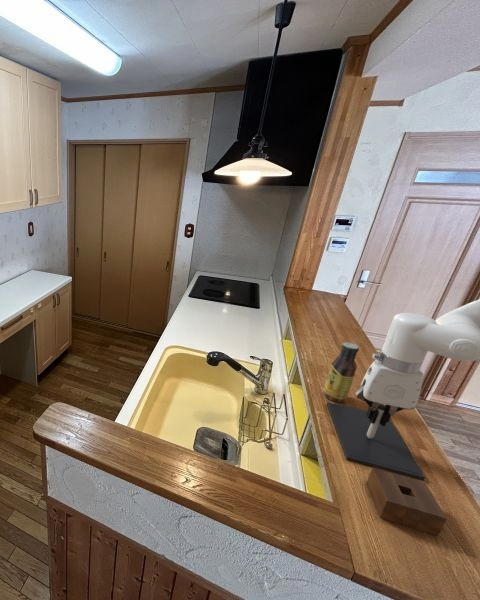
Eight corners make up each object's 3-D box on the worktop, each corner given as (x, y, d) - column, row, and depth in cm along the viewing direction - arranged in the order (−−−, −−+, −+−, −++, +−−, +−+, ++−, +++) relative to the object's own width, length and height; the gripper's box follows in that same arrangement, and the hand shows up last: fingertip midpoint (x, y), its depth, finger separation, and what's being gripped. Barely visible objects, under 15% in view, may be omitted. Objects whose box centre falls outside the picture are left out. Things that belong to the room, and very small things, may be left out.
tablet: (386, 417, 97) (387, 414, 97) (424, 480, 77) (425, 477, 76) (326, 404, 103) (327, 401, 103) (346, 459, 83) (347, 456, 83)
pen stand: (417, 497, 73) (425, 481, 71) (438, 536, 65) (447, 518, 63) (365, 483, 77) (372, 467, 75) (379, 517, 69) (386, 500, 67)
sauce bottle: (321, 389, 110) (336, 337, 103) (344, 395, 107) (361, 342, 100) (323, 400, 105) (339, 346, 98) (347, 406, 102) (365, 351, 95)
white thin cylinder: (371, 437, 89) (384, 404, 85) (373, 441, 87) (386, 408, 83) (364, 435, 89) (377, 402, 85) (366, 439, 88) (379, 406, 84)
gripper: (364, 362, 80) (343, 421, 86) (450, 377, 73) (421, 440, 80) (355, 348, 86) (336, 405, 93) (433, 361, 80) (407, 421, 86)
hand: (375, 421), depth 86 cm, fingers closed on white thin cylinder, 1 cm apart
